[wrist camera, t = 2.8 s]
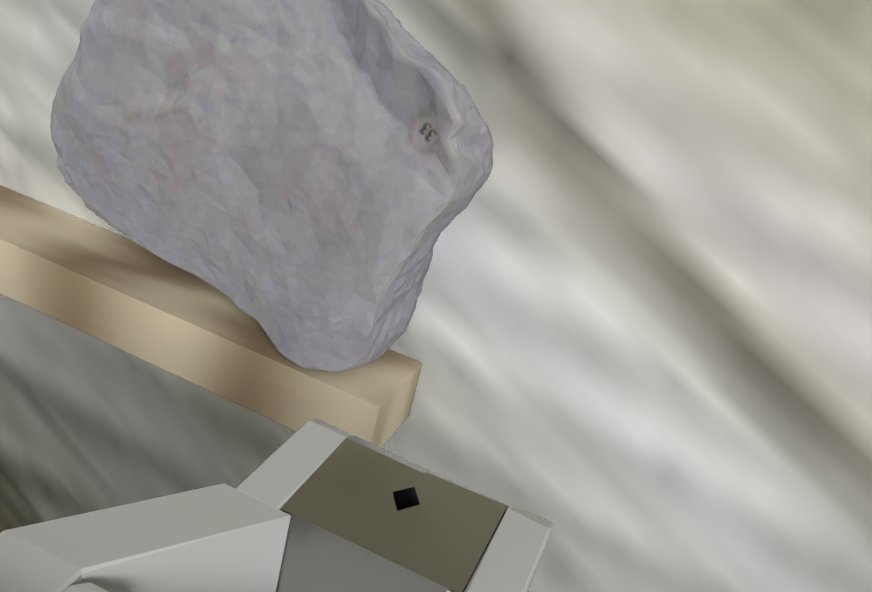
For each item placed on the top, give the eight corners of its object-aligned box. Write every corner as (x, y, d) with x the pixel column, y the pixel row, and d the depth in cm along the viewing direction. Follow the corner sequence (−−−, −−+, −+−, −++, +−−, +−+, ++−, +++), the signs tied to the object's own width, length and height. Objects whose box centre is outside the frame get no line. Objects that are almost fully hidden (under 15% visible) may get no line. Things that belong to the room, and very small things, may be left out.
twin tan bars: (567, -210, 19) (507, -256, 15) (408, 415, 26) (342, 490, 23) (-108, -352, 24) (-276, -412, 20) (-77, 201, 32) (-196, 231, 28)
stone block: (236, -125, 25) (100, 158, 28) (141, -180, 20) (-9, 166, 23) (565, 97, 24) (386, 366, 27) (544, 91, 19) (331, 417, 22)
